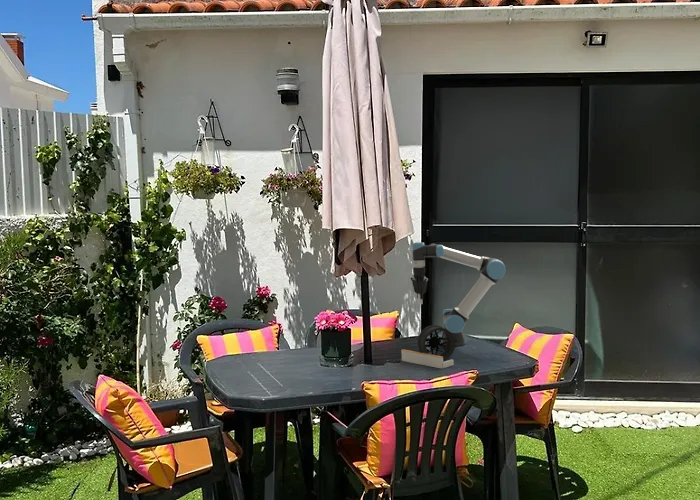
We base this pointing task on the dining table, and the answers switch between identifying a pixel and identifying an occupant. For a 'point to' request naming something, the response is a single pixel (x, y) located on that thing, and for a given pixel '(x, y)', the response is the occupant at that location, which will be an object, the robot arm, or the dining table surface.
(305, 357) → the dining table surface
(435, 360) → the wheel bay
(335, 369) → the dining table surface
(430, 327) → the wheel rim
